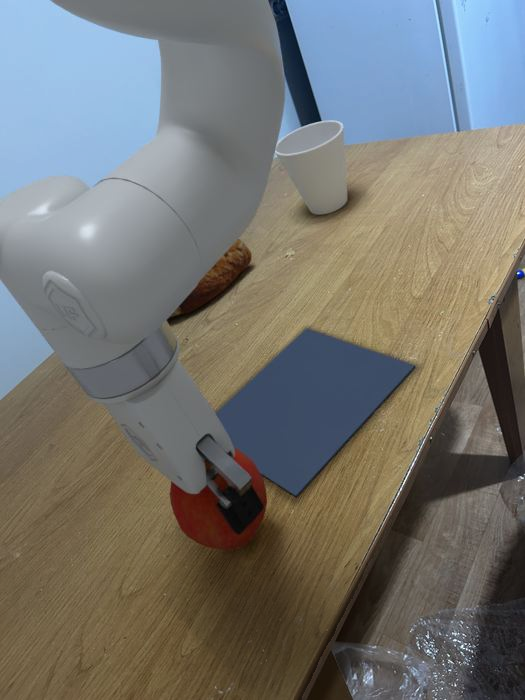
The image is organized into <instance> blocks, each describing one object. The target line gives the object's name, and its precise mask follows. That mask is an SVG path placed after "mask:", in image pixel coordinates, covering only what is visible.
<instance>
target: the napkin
mask: <svg viewBox="0 0 525 700" xmlns="http://www.w3.org/2000/svg"><path fill="white" fill-rule="evenodd" d="M415 368H416V365H415V364H412V363H410V362H408V361H404V360H400V359H398V358H395V357H392V356H389V355H387V354H383V353H381V352H377V351H374V350H372V349H368V348H365V347H363V346H359V345H357V344H354V343H350V342H348V341H345V340H342V339H340V338H336V337H335V336H334V337H333V336H331V335H327V334H325V333H323V332H319V331H315V330H313V329H310V328H307V327H306V328H305V329H304V330H303V331H302V332H300V334H299V335H297V337H295V338H294V339H293V340H292V341H291V342H290V343H289V344H288V345H287V346H285V348H283V350H281V351H280V352H279V353H278V354H277V355H276V356H275V357H274V358H273V359H272V360H271V361H269V363H268V364H266V366H264V367H263V368H262V369H261V370H260V371H259V372H258V373H257V374H256V375H255V376H253V378H252V379H251V380H249V381H248V382H247V383H246V384H245V385H244V386H243V387H242V388H241V389H240V390H239V391H238V392H236V394H235V395H233V396H232V397H231V398H230V399H229V400H228V401H226V403H225V404H223V406H221V407H220V409H218V410H217V411H216V412H215V414H216V415H217V417H218V418H219V420H220V422H221V423H222V425H223V427H224V428H225V430H226V432H227V434H228V436H229V437H230V439H231V441H232V444H233V446H234V448H235V449H238V450H239V451H241V452H242V453H243V454H245V455H246V456H247V457H249V458H250V459H251V460H252V461H254V463H255V465H256V467H257V469H258V470H259V472H260V474H261V475H262V477H263V478H265V479H267V480H269V481H270V482H272V483H273V484H275V485H277V486H278V487H280V488H281V489H283V490H284V491H286V492H287V493H289V495H292V496H293V497H295V498H297V497H299V495H301V494H302V492H303V491H304V490H305V489H306V488H307V487H308V486H309V484H311V482H312V481H313V480H314V479H315V478H316V477H317V476H318V475H319V474H320V473H321V472H322V470H324V468H325V467H326V466H327V465H328V464H329V463H330V462H331V460H333V458H334V457H335V456H336V455H337V454H338V453H339V452H340V451H341V450H342V448H343V447H344V446H345V445H346V444H347V443H348V442H349V441H350V440H351V439H352V438H353V437H354V435H355V434H356V433H357V432H358V431H359V430H360V429H361V427H363V425H364V424H365V423H366V422H367V421H368V420H369V419H370V418H371V416H372V415H373V414H374V413H375V412H376V411H377V410H378V409H379V408H380V407H381V406H382V405H383V403H384V402H385V401H386V400H387V399H388V398H389V397H390V396H391V395H392V394H393V393H394V392H395V390H396V389H397V388H398V387H399V386H400V385H401V384H402V382H403V381H404V380H405V379H406V378H407V377H408V376H409V375H410V374H412V372H413V370H414V369H415Z"/></svg>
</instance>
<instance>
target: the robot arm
mask: <svg viewBox="0 0 525 700" xmlns="http://www.w3.org/2000/svg"><path fill="white" fill-rule="evenodd" d="M49 1H50V2H51V3H54V4H55V5H56V6H58V7H59V8H61V9H63V10H65V11H66V12H68V13H70V14H71V15H74V16H75V17H77V18H80V19H82V20H84V21H87V22H89V23H92V24H93V25H97V26H99V27H102V28H104V29H107V30H110V31H114V32H117V33H119V34H123V35H128V36H131V37H136V38H142V39H147V40H153V41H157V43H158V49H159V54H160V96H159V97H160V98H159V113H158V115H159V116H158V125H157V129H156V133H155V136H154V137H153V138H152V139H151V140H150V141H148V142H147V143H146V144H144V145H143V146H141V147H140V148H139V149H138V150H136V151H135V152H134V153H133V154H131V155H130V156H129V157H128V158H126V159H125V160H124V161H122V162H121V163H119V165H118V166H117V167H115V168H114V169H113V170H111V171H110V172H109V173H108V174H107V175H105V176H104V177H102V178H101V179H100V180H99V181H97V183H95V184H94V185H93V186H92V187H90V186H89V185H88V184H87V183H86V182H84V181H83V179H80V178H78V177H76V176H74V175H68V174H58V175H51V176H47V177H44V178H41V179H37V180H35V181H33V182H29V183H28V184H25V185H23V186H21V187H19V188H17V189H16V190H14V191H12V192H10V193H9V194H7V195H5V196H4V197H2V198H1V199H0V281H1V283H2V284H3V286H5V288H6V290H7V291H8V292H9V294H10V295H11V296H12V297H13V298H14V300H15V301H16V302H17V304H18V305H19V307H20V308H21V309H22V310H23V312H24V313H25V314H26V316H27V318H28V319H29V320H30V321H31V323H32V324H33V325H34V326H35V328H36V329H37V331H38V332H39V333H40V334H41V336H42V337H43V338H44V340H45V341H46V343H47V344H48V345H49V346H50V348H51V349H52V351H53V352H54V353H55V355H56V356H57V358H58V359H59V360H60V361H61V362H62V364H63V366H65V367H66V370H67V371H69V373H70V374H71V376H72V377H73V378H74V380H75V381H76V383H77V384H78V385H79V386H80V388H81V389H82V391H83V392H84V393H85V395H86V396H87V398H89V399H90V401H92V402H94V403H96V404H99V405H104V407H105V409H106V410H107V411H108V414H109V415H110V416H111V418H112V420H114V422H115V424H116V425H117V427H118V428H119V430H120V431H121V433H122V434H123V436H124V437H125V439H126V440H127V441H128V443H129V445H131V448H132V449H133V450H134V451H135V452H136V454H138V455H139V456H140V458H142V459H143V460H144V461H145V462H147V464H149V465H150V466H151V467H153V468H154V469H155V470H156V471H158V472H159V473H160V474H161V475H162V476H164V477H165V478H166V479H168V480H169V481H170V482H171V481H172V482H173V483H174V484H176V485H177V486H178V487H180V488H181V489H182V490H184V491H185V492H187V493H190V494H198V493H200V491H201V490H202V489H203V488H204V487H206V488H207V489H208V490H209V491H210V493H211V494H212V495H213V496H214V497H215V498H216V499H217V500H218V503H217V505H216V506H217V508H218V509H219V511H220V512H221V514H222V515H223V517H224V518H225V520H226V521H227V523H228V524H229V526H230V527H231V529H232V530H233V531H234V532H235V533H236V534H241V533H242V532H243V531H244V530H245V529H246V528H247V527H248V526H249V524H251V523H252V522H253V521H254V520H255V519H256V518H257V516H258V515H259V514H260V513H261V512H262V510H263V508H264V505H263V503H262V502H261V500H260V498H259V496H258V495H257V493H256V491H255V490H254V488H253V485H252V477H251V476H250V475H249V474H248V473H247V472H246V471H245V470H244V469H243V468H242V467H241V466H240V465H239V464H238V463H237V462H236V461H235V460H234V459H233V458H234V457H235V449H234V446H233V444H232V441H231V439H230V437H229V436H228V434H227V432H226V430H225V428H224V427H223V425H222V423H221V422H220V420H219V418H218V417H217V415H216V414H215V413H216V412H215V411H214V409H213V408H212V406H211V404H210V402H209V401H208V400H207V398H206V397H205V395H204V393H203V392H202V391H201V389H200V388H199V386H198V385H197V384H196V383H195V380H194V379H193V378H192V377H191V375H190V374H189V372H188V371H187V369H186V368H185V367H184V365H183V364H182V362H181V361H180V360H179V356H180V353H181V344H180V341H179V339H178V337H177V336H176V335H175V332H174V330H173V328H172V327H171V325H170V324H169V321H168V319H170V318H171V317H170V315H171V314H172V313H173V312H174V311H175V310H176V309H177V308H178V306H179V305H180V304H181V303H182V302H183V301H184V300H185V299H186V297H187V296H188V295H189V294H190V293H191V292H192V291H193V290H194V288H195V287H196V286H197V285H198V283H199V281H200V280H201V279H202V278H203V277H204V276H205V274H206V273H207V272H208V271H209V270H210V269H211V268H212V267H213V266H214V265H215V264H216V262H217V261H218V260H219V259H220V258H221V257H222V256H223V255H224V254H225V253H226V252H227V251H228V250H229V249H230V248H231V247H232V245H233V244H234V243H235V242H236V241H237V240H238V239H240V238H241V237H242V236H243V234H244V233H245V232H246V231H247V229H248V228H249V226H250V225H251V223H252V222H253V220H254V218H255V216H256V214H257V212H258V210H259V208H260V206H261V203H262V201H263V198H264V195H265V192H266V189H267V186H268V182H269V178H270V173H271V171H272V166H273V162H274V157H275V155H276V154H275V150H276V145H277V142H278V141H279V137H280V133H281V127H282V123H283V117H284V110H285V103H286V102H285V101H286V77H285V69H284V61H283V54H282V48H281V41H280V36H279V31H278V25H277V21H276V19H275V16H274V13H273V10H272V8H271V7H272V6H271V5H270V2H269V0H49ZM169 317H170V318H169ZM205 460H206V461H207V462H208V463H209V464H210V465H211V466H210V467H209V468H208V469H207V470H206V468H205V462H204V461H205ZM218 473H219V474H220V475H221V476H222V477H223V478H224V479H225V480H226V481H227V483H228V486H227V488H226V489H225V490H224V491H223V492H222V491H221V490H220V489H219V487H218V486H217V485H216V484H215V483H214V482H213V481H212V479H213V478H214V477H215V476H216V475H217V474H218Z"/></svg>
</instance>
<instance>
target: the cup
mask: <svg viewBox="0 0 525 700" xmlns="http://www.w3.org/2000/svg"><path fill="white" fill-rule="evenodd" d="M344 129H345V127H344V124H343V123H342V122H341V121H339V120H330V119H329V120H321V121H317V122H313V123H309V124H307V125H304V126H301V127H299V128H296V129H295V130H293V131H291V132H289V133H287V134H286V135H284V136H283V137H282V138H280V139H278V141H277V145H276V150H275V154H274V155H276V156H277V158H278V160H279V161H280V163H281V165H282V166H283V168H284V169H285V171H286V173H287V175H288V177H289V178H290V180H291V182H292V183H293V185H294V187H295V188H296V190H297V192H298V193H299V195H300V197H301V198H302V201H304V203H305V205H306V206H307V209H308V210H309V212H310V213H311V214H313V215H321V216H322V215H326V214H331V213H333V212H335V211H338V210H339V209H341V208H342V207H344V206H345V205H346V204H347V203H348V184H347V183H348V182H347V167H346V151H345V149H346V148H345V134H344Z"/></svg>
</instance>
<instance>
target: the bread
mask: <svg viewBox="0 0 525 700" xmlns="http://www.w3.org/2000/svg"><path fill="white" fill-rule="evenodd" d="M252 257H253V255H252V251H251V250H250V249H249V247H248V246H247V245H246V243H245V242H244V241H243V239H240V238H239V239H238V240H237V241H236V242H235V243H234V244H233V245H232V247H231V248H230V249H229V250H228V251H227V252H226V253H225V254H224V255H223V256H222V257H221V258H220V259H219V260H218V261H217V262H216V264H215V265H214V266H213V267H212V268H211V269H210V270H209V271H208V272H207V273H206V274H205V276H204V277H203V278H202V279H201V280H200V281H199V283H198V285H197V286H196V287H195V288H194V290H193V291H192V292H191V293H190V294H189V295H188V296H187V297H186V299H185V300H184V301H183V302H182V303H181V304H180V305H179V306H178V308H177V309H176V310H175V311H174V312H173V313H172V314H171V315H170V317H169V318H168V319H170V318H173V317H175V316H181V315H185V314H188V313H191V312H193V311H195V310H197V309H199V308H200V307H202V306H204V305H205V304H207V303H208V302H209V301H211V300H212V299H213V298H215V297H216V296H218V295H219V294H220V293H222V292H223V291H224V290H225V289H227V288H228V287H229V286H230V285H231V284H232V283H233V282H234V281H235V279H236V278H237V277H238V276H239V275H240V274H241V273H242V272H243V271H244V270H245V269H246V268H247V267H249V265H250V263H251V262H252Z"/></svg>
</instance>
